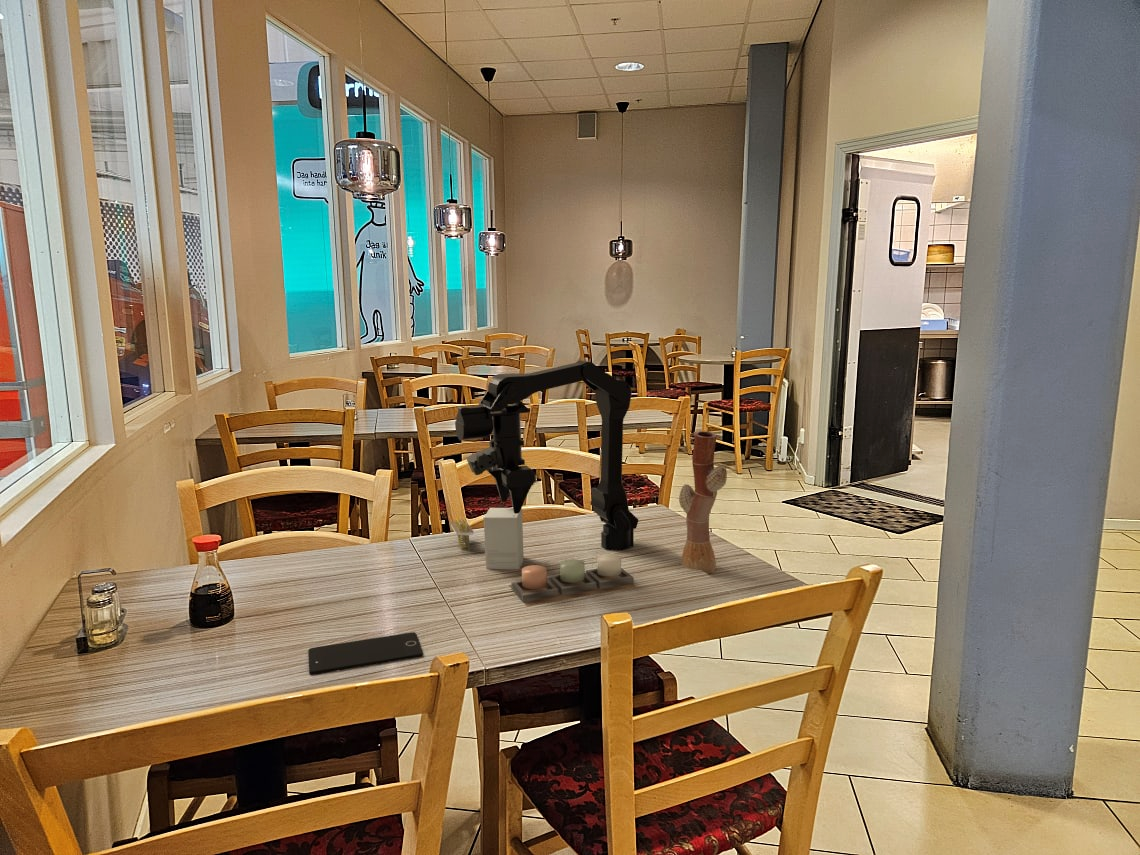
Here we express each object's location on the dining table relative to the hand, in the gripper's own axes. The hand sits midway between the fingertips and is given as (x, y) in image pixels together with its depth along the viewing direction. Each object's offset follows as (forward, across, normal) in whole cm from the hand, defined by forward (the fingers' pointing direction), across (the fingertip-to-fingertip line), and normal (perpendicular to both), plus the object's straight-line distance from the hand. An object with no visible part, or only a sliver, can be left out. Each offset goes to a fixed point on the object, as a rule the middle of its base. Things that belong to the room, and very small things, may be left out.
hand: (510, 507), depth 165 cm
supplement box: (+14, -2, -1) cm, 14 cm away
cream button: (+11, +16, +15) cm, 25 cm away
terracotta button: (+11, +17, -1) cm, 20 cm away
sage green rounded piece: (+11, +16, +7) cm, 21 cm away
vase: (+15, +16, +37) cm, 43 cm away
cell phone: (+14, +27, -34) cm, 46 cm away
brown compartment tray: (+14, +16, +7) cm, 23 cm away
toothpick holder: (+14, -20, -6) cm, 25 cm away
